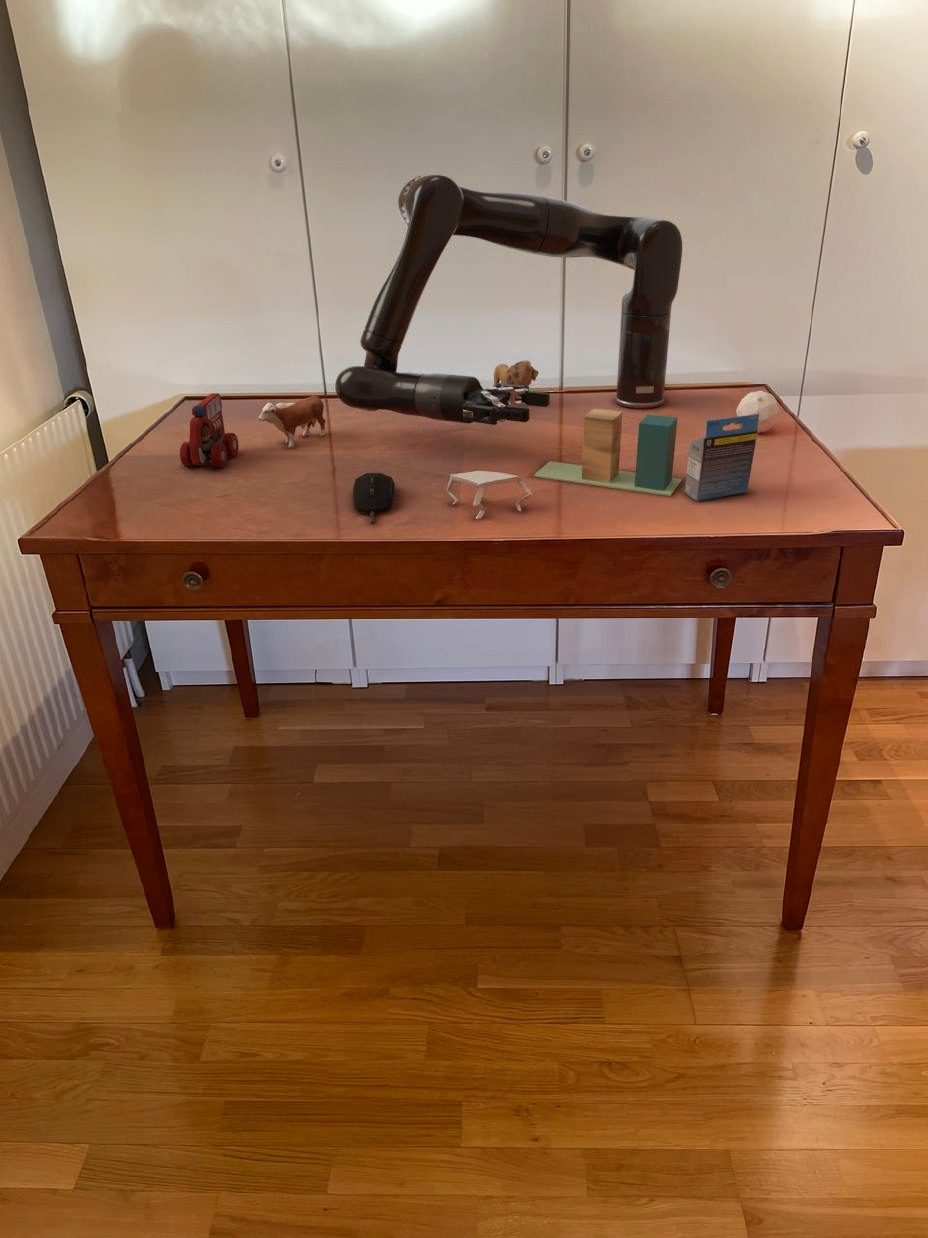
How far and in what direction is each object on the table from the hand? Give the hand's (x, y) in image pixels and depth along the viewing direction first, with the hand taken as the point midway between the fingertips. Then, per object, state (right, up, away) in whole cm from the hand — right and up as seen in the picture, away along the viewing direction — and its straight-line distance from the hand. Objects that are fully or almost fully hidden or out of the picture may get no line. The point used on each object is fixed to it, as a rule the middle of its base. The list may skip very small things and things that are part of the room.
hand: (539, 407), depth 140 cm
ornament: (+40, 0, +17) cm, 43 cm away
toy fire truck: (-55, -7, +11) cm, 57 cm away
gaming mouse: (-26, -17, -7) cm, 31 cm away
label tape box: (+26, -15, -8) cm, 31 cm away
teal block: (+17, -13, -4) cm, 22 cm away
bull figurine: (-42, -2, +19) cm, 46 cm away
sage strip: (+11, -12, -1) cm, 16 cm away
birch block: (+10, -11, -1) cm, 15 cm away
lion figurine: (-2, +10, +37) cm, 39 cm away
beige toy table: (-8, -18, -10) cm, 22 cm away
